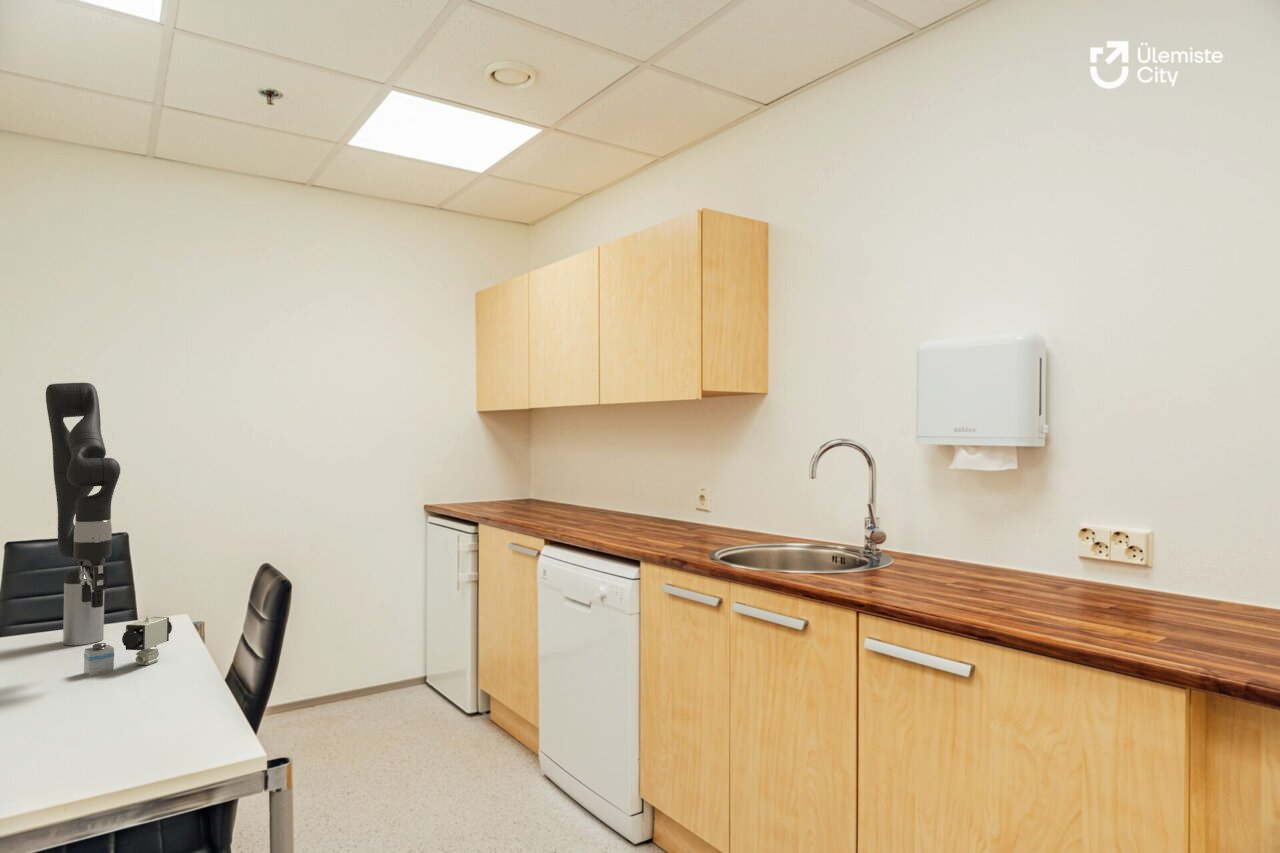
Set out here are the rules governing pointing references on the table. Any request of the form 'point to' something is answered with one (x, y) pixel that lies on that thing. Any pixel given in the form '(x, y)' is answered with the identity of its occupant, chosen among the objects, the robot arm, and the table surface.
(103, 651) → the grey box with knob
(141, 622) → the pneumatic valve
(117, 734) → the table surface
